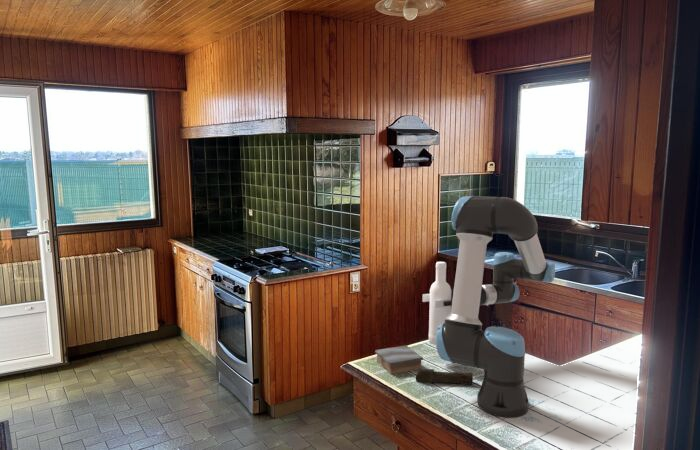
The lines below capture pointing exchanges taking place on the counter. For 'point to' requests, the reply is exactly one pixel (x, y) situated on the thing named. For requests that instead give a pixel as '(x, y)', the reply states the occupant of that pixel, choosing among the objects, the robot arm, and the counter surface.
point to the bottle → (437, 292)
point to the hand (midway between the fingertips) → (428, 301)
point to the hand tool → (443, 377)
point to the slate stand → (399, 359)
